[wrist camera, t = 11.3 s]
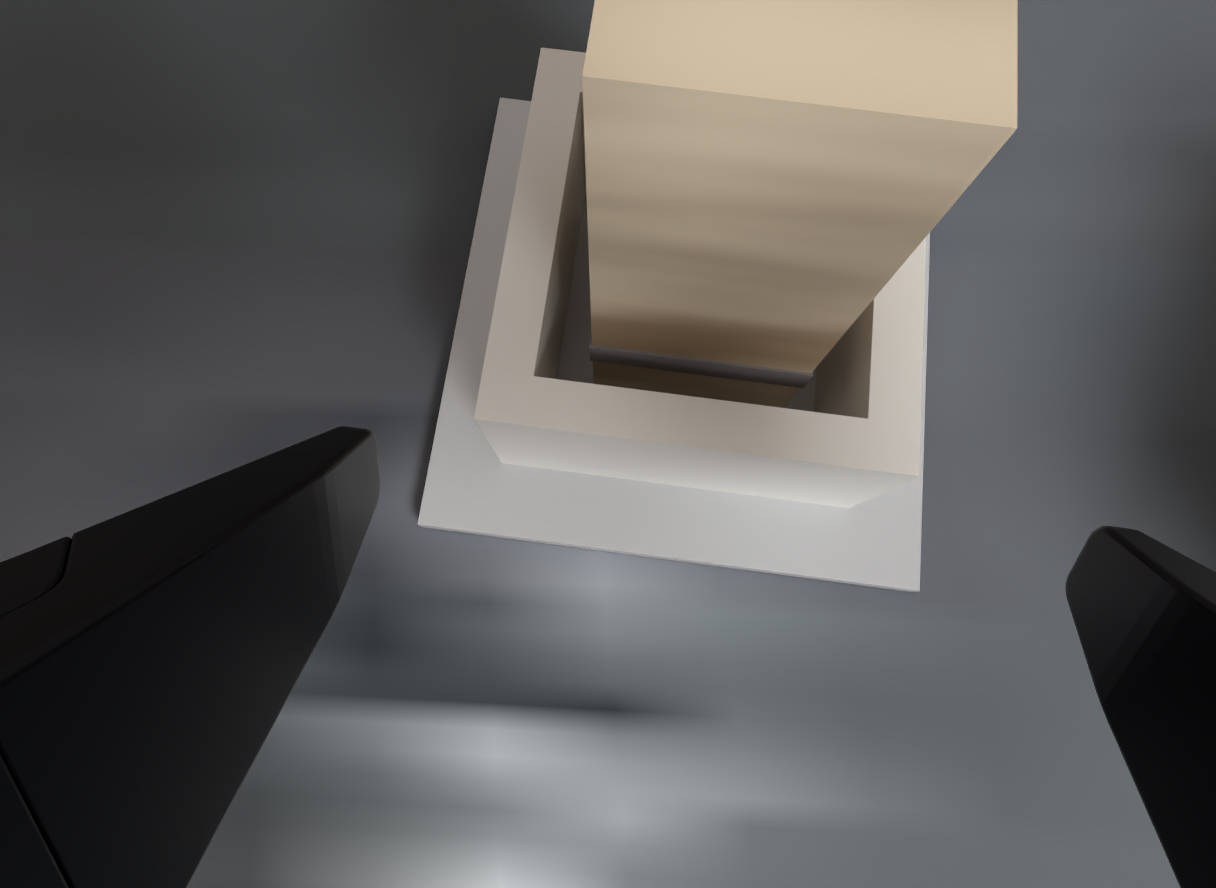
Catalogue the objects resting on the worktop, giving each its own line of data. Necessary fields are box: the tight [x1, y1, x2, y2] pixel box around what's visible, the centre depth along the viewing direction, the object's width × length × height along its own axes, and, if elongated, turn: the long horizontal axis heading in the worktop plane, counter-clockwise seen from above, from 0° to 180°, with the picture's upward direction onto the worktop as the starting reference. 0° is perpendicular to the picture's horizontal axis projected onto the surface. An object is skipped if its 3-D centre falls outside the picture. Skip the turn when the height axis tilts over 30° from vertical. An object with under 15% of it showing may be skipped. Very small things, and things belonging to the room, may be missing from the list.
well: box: [418, 48, 930, 592], centre depth 17 cm, size 12×12×4 cm
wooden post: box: [582, 0, 1017, 408], centre depth 13 cm, size 5×5×11 cm
